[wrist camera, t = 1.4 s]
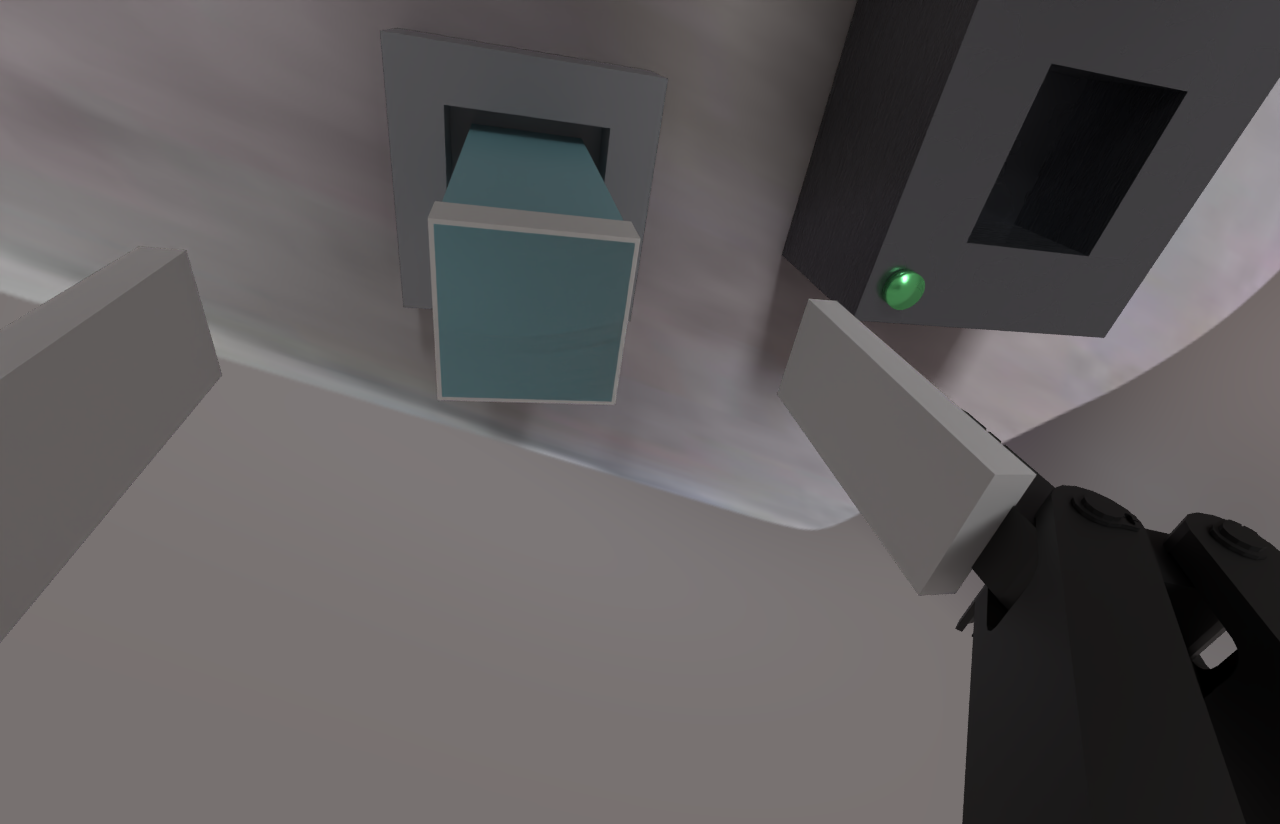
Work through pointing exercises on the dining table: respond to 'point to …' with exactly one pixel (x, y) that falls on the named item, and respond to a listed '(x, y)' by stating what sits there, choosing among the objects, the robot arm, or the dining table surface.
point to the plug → (529, 273)
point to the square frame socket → (507, 125)
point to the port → (1021, 153)
